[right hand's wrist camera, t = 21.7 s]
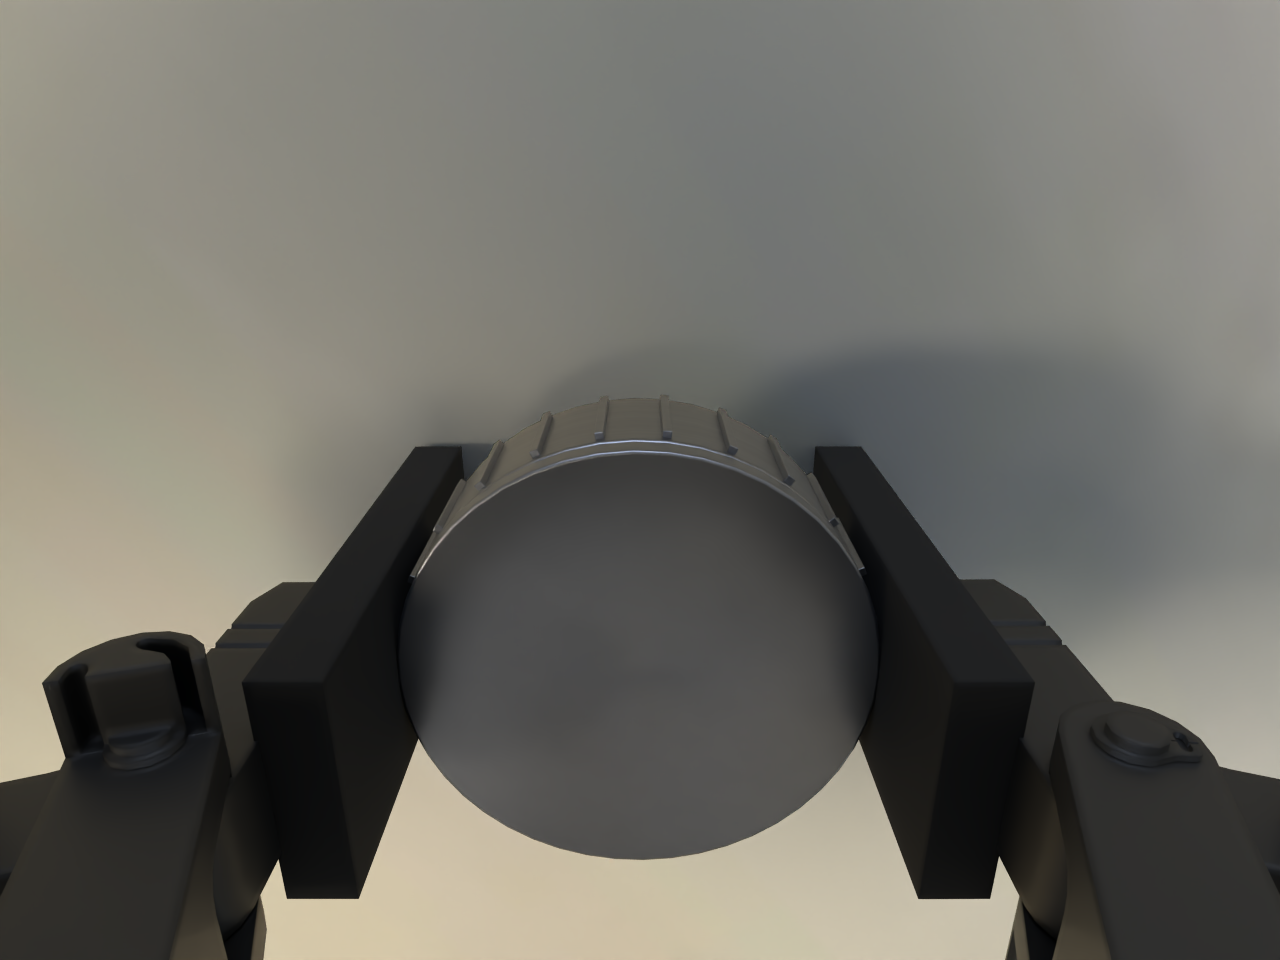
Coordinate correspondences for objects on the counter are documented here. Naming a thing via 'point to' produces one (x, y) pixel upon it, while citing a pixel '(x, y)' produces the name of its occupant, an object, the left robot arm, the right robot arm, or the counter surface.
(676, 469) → the lid
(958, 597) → the right robot arm
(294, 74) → the counter surface
